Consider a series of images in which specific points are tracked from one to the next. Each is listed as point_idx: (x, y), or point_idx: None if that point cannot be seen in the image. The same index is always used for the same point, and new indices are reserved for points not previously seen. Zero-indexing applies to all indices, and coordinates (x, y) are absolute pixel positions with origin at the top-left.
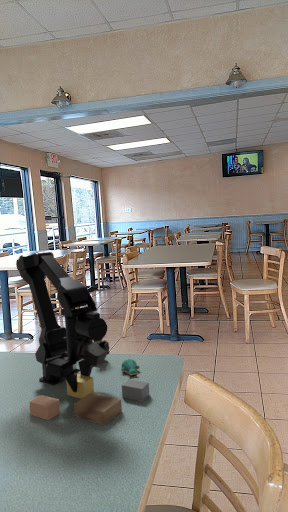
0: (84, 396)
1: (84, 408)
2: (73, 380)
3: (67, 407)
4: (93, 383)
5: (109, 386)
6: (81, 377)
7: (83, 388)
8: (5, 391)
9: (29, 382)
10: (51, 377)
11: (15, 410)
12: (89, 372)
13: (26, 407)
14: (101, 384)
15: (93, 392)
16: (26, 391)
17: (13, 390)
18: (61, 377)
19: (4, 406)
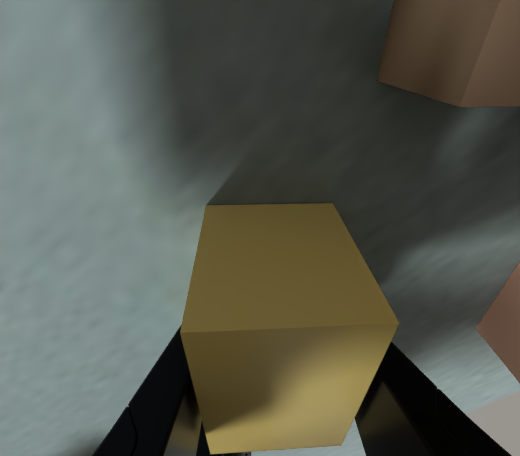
0: (335, 217)
1: None
2: (465, 423)
3: (471, 227)
4: (194, 267)
5: (6, 173)
6: (259, 404)
7: (367, 271)
8: (364, 453)
9: (276, 452)
10: (237, 452)
11: (508, 376)
12: (150, 431)
13: (479, 366)
14: (49, 253)
15: (485, 71)
16: None
17: (350, 447)
18: (203, 433)
19: (473, 409)
